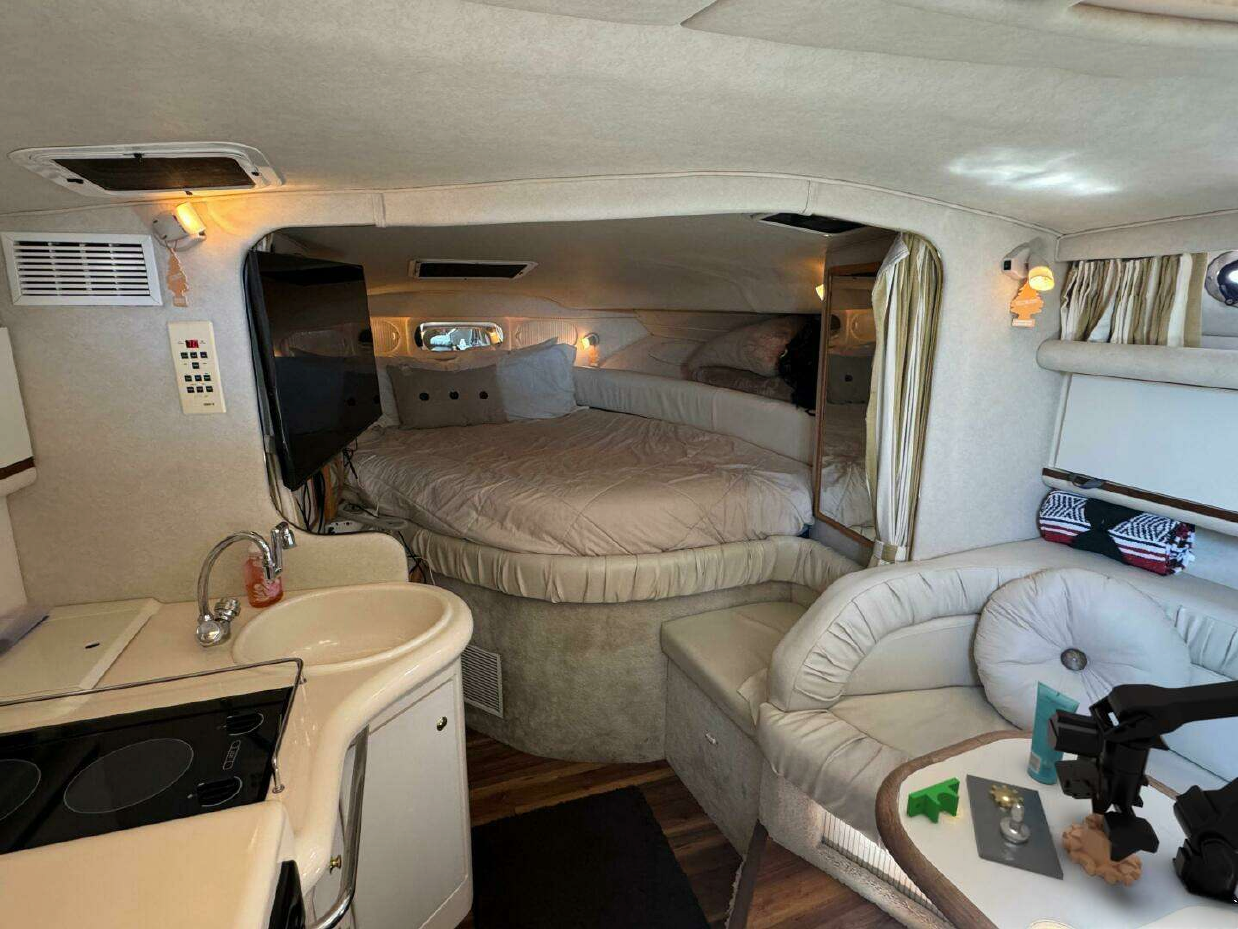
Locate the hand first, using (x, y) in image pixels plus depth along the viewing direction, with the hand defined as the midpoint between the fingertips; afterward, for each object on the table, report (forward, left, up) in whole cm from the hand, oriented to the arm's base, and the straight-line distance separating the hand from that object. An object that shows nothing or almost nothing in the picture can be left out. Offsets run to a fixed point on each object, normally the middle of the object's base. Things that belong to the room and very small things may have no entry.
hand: (1105, 838), depth 105 cm
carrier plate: (+13, -2, -4) cm, 14 cm away
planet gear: (0, 0, -4) cm, 4 cm away
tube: (+5, -18, -4) cm, 19 cm away
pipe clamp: (+25, -1, -4) cm, 26 cm away
